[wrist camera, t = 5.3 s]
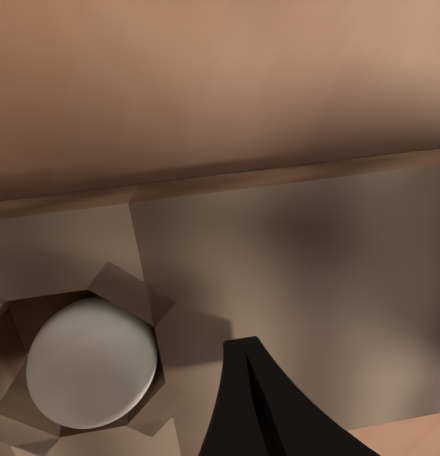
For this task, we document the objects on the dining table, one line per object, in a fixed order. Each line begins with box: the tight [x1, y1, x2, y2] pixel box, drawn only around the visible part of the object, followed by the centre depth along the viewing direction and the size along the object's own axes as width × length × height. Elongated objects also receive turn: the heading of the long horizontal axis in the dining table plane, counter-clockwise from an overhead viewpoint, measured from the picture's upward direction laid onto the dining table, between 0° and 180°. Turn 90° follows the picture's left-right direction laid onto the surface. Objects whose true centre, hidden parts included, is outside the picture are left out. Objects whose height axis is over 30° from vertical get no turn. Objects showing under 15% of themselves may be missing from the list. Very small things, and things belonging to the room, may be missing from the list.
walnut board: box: [0, 148, 440, 456], centre depth 14 cm, size 23×13×3 cm, turn 96°
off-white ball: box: [26, 296, 158, 429], centre depth 13 cm, size 5×5×5 cm
